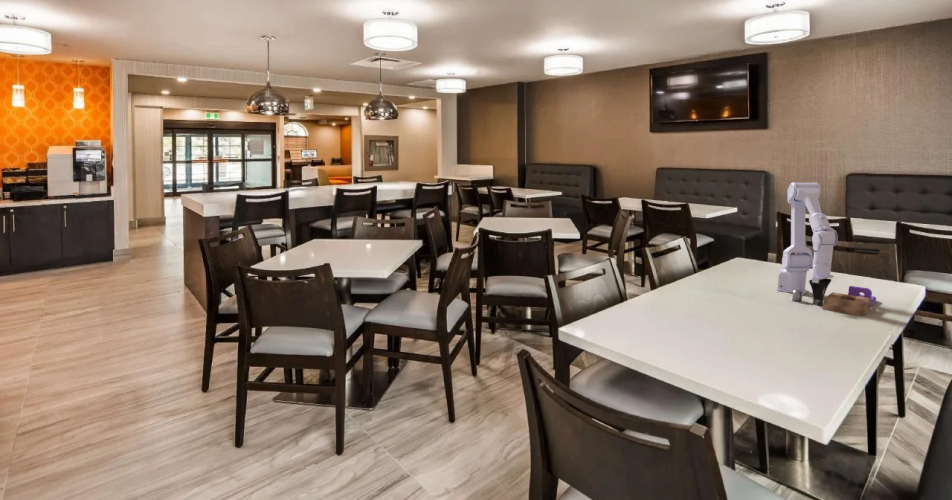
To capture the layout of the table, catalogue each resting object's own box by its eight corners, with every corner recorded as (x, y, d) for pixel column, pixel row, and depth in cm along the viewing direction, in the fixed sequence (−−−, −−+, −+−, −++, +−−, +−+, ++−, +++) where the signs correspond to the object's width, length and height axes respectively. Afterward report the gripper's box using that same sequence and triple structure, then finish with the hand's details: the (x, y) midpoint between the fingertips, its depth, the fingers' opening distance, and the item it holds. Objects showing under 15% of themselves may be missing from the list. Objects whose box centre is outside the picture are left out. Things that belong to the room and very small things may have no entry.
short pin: (791, 301, 210) (791, 290, 209) (793, 299, 212) (794, 289, 211) (800, 302, 208) (801, 292, 207) (802, 300, 210) (803, 290, 209)
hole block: (822, 309, 199) (823, 298, 198) (831, 302, 207) (832, 292, 206) (862, 315, 190) (863, 304, 190) (869, 308, 199) (871, 298, 198)
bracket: (869, 308, 201) (871, 289, 200) (846, 304, 206) (849, 286, 204) (875, 301, 209) (877, 284, 208) (854, 298, 214) (856, 281, 213)
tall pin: (811, 304, 205) (813, 284, 204) (814, 302, 207) (816, 283, 206) (821, 306, 203) (823, 286, 201) (823, 304, 205) (826, 284, 204)
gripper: (829, 267, 194) (825, 304, 197) (839, 261, 204) (835, 296, 207) (807, 264, 199) (803, 300, 202) (818, 258, 209) (814, 293, 212)
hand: (818, 298), depth 205 cm, fingers open, 3 cm apart
